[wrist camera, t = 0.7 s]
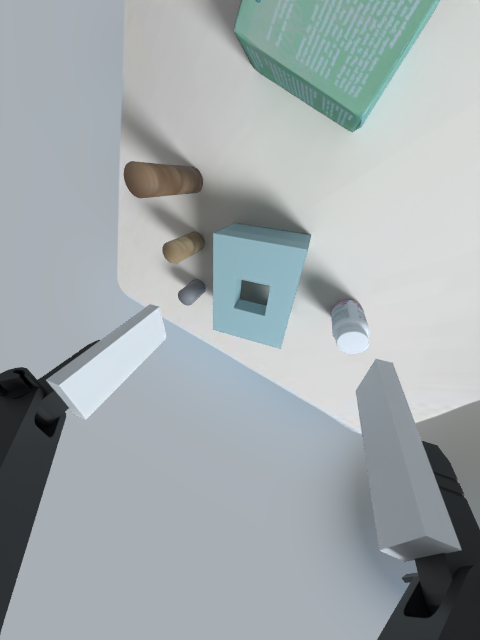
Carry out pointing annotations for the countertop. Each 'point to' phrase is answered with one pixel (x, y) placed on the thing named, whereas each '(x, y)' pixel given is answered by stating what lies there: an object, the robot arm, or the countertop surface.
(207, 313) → the countertop surface
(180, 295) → the charcoal pin
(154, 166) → the walnut pin
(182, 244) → the oak pin
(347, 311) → the pill bottle
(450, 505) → the robot arm
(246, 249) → the bridge
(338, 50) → the box
